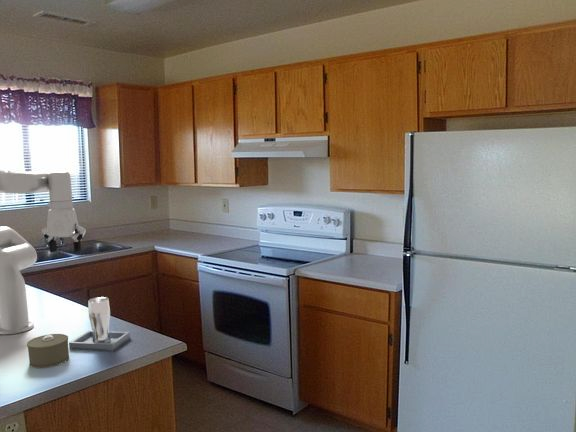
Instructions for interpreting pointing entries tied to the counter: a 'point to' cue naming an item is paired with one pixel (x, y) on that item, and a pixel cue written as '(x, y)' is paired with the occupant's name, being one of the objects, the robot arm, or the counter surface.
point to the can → (48, 350)
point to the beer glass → (99, 319)
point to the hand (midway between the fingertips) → (65, 251)
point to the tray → (86, 343)
